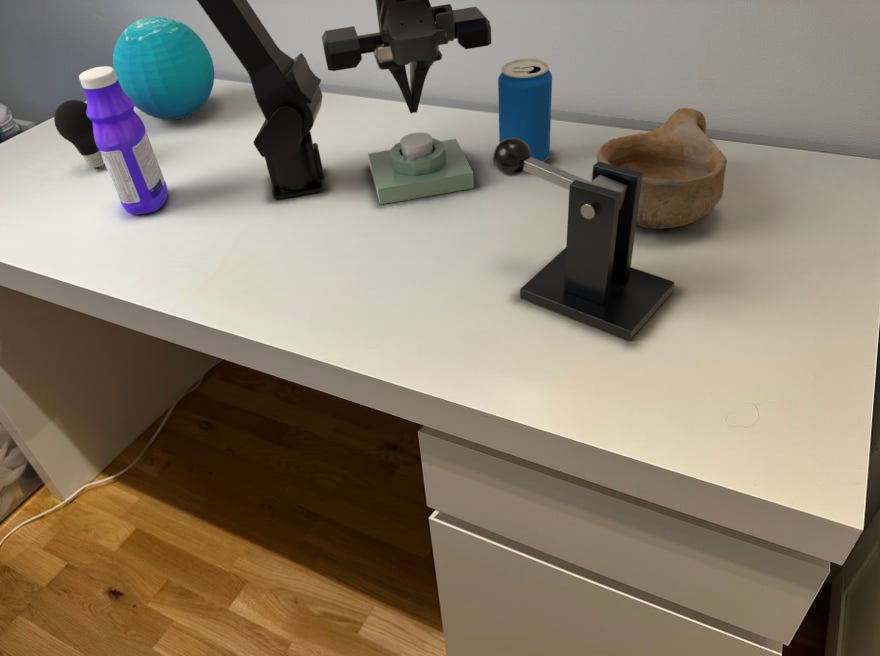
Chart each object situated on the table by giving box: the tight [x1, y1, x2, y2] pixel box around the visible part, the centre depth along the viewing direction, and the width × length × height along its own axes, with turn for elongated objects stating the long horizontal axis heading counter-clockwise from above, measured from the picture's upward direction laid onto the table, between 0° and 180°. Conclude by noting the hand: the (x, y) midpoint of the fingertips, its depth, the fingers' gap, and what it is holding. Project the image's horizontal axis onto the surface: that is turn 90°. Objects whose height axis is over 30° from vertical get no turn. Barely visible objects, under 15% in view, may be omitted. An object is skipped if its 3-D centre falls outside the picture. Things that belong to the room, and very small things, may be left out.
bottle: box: [78, 65, 168, 215], centre depth 88 cm, size 7×6×17 cm
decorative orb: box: [112, 15, 215, 121], centre depth 110 cm, size 15×15×15 cm
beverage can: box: [497, 58, 553, 162], centre depth 88 cm, size 6×6×12 cm
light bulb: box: [53, 99, 104, 170], centre depth 100 cm, size 6×6×10 cm
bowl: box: [596, 107, 728, 229], centre depth 78 cm, size 18×14×10 cm
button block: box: [367, 137, 475, 206], centre depth 90 cm, size 12×10×4 cm
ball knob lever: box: [492, 137, 627, 210], centre depth 65 cm, size 13×4×4 cm, turn 50°
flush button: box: [399, 132, 433, 158], centre depth 88 cm, size 4×4×2 cm
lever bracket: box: [519, 161, 675, 342], centre depth 66 cm, size 12×9×13 cm
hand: (413, 111), depth 85 cm, fingers closed
